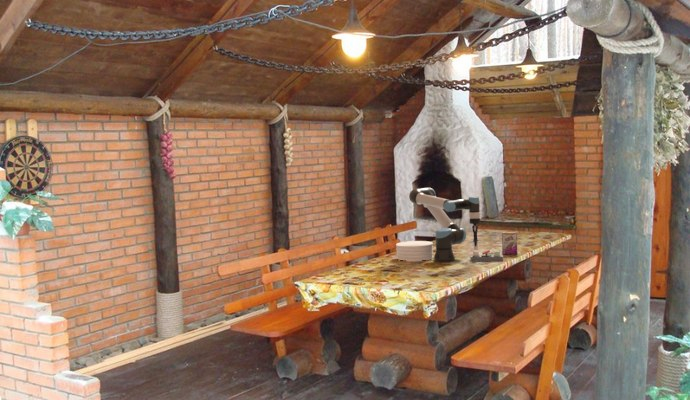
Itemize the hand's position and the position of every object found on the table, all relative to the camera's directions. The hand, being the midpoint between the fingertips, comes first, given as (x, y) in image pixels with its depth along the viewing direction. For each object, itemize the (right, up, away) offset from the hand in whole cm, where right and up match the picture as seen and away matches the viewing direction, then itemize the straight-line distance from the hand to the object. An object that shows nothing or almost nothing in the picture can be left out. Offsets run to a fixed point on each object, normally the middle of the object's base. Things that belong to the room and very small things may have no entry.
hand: (475, 250), depth 493 cm
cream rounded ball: (0, -5, 0) cm, 5 cm away
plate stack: (-42, -8, +23) cm, 48 cm away
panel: (+8, -7, -1) cm, 11 cm away
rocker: (+7, -2, -1) cm, 8 cm away
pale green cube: (+15, -4, -3) cm, 16 cm away
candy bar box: (+30, -5, +22) cm, 38 cm away
